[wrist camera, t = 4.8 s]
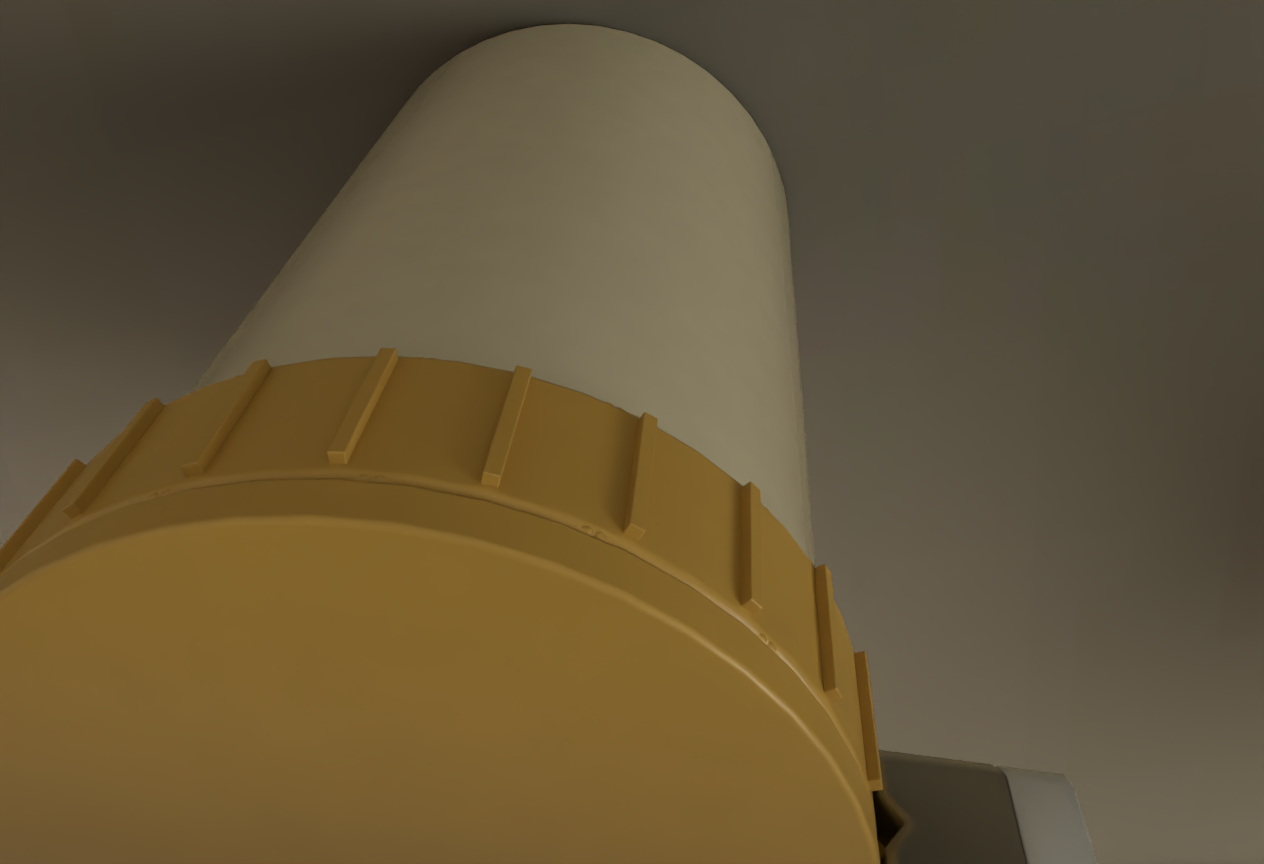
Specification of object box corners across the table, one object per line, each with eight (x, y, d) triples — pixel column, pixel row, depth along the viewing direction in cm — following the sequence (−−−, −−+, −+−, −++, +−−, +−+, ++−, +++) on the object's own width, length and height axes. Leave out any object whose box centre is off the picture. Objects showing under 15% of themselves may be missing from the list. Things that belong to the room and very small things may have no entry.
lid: (261, 139, 7) (130, 271, 6) (1056, 678, 9) (1120, 890, 7) (-86, 734, 10) (-229, 920, 9) (551, 1039, 12) (524, 1238, 11)
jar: (520, -77, 15) (204, 315, 6) (877, 205, 17) (1027, 827, 8) (300, 265, 18) (-131, 861, 9) (622, 475, 19) (522, 1153, 11)
